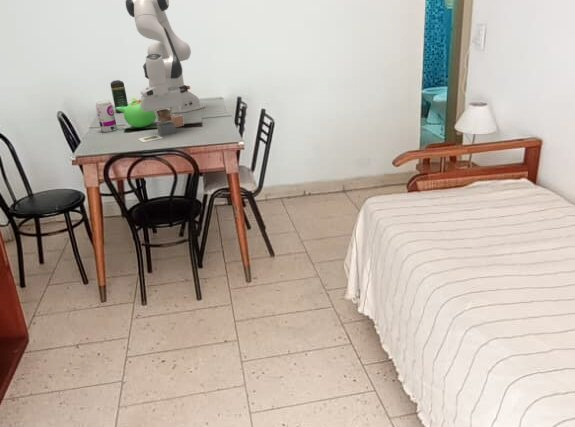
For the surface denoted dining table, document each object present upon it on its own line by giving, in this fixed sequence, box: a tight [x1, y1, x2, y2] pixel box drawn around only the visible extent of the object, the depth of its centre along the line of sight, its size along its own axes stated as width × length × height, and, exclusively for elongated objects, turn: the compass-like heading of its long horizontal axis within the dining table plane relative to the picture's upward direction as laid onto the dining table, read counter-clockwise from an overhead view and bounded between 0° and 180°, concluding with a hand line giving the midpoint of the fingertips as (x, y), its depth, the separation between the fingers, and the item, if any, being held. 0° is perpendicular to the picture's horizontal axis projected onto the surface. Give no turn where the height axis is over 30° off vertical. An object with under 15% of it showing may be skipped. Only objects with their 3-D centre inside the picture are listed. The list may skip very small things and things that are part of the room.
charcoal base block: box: [156, 121, 177, 137], centre depth 261 cm, size 7×7×5 cm
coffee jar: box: [110, 79, 129, 114], centre depth 316 cm, size 10×8×19 cm
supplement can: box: [95, 100, 118, 133], centre depth 274 cm, size 8×8×15 cm
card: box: [137, 134, 163, 143], centre depth 254 cm, size 10×8×1 cm
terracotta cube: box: [170, 114, 185, 128], centre depth 274 cm, size 5×5×5 cm
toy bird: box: [115, 97, 158, 128], centre depth 276 cm, size 18×17×15 cm
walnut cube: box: [157, 108, 171, 123], centre depth 258 cm, size 5×5×5 cm
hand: (164, 117), depth 258 cm, fingers closed on walnut cube, 5 cm apart
